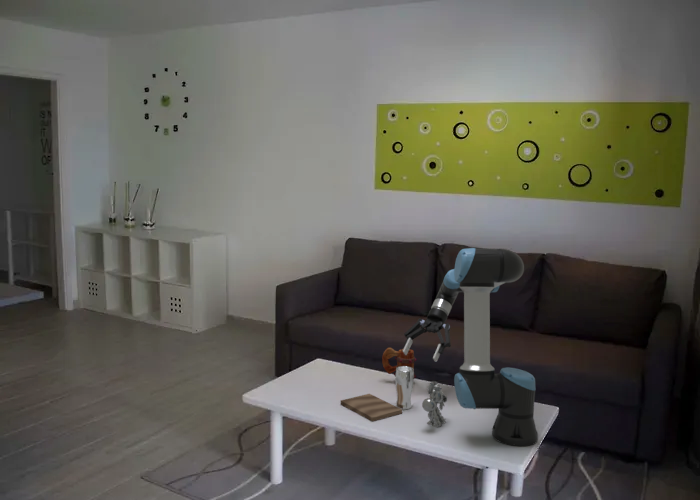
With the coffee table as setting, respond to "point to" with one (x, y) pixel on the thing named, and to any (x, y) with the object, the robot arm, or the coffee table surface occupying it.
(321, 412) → the coffee table surface
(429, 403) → the robot toy
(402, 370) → the beer glass
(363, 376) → the coffee table surface
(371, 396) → the serving board
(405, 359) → the mug
